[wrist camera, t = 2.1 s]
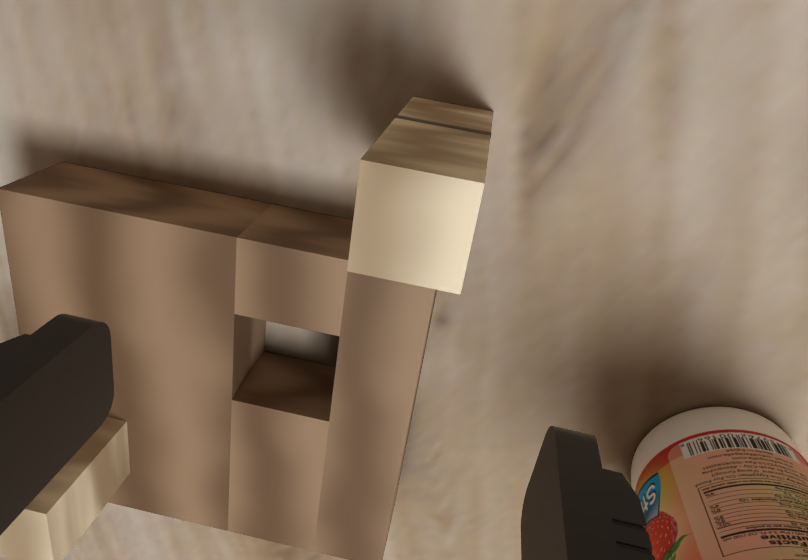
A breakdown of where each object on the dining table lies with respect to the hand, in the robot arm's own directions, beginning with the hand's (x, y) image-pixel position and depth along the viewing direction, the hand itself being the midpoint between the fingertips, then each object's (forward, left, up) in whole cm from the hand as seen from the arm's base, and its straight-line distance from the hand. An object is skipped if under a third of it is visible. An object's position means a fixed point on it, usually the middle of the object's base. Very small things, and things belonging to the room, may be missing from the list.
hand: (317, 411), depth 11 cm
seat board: (+10, +15, -22) cm, 29 cm away
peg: (0, 0, -22) cm, 22 cm away
